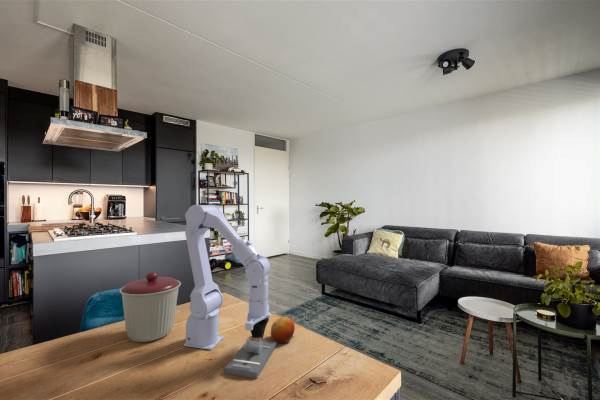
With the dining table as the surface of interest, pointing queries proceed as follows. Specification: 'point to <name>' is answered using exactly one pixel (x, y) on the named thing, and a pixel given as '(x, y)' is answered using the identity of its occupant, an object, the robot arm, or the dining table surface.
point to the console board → (250, 361)
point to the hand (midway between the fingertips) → (257, 343)
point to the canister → (149, 307)
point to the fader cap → (254, 344)
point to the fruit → (282, 330)
